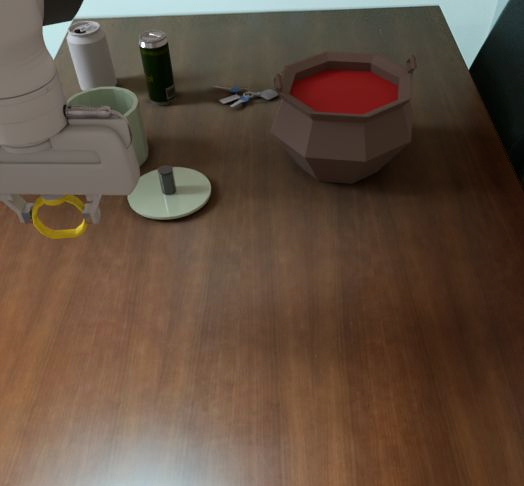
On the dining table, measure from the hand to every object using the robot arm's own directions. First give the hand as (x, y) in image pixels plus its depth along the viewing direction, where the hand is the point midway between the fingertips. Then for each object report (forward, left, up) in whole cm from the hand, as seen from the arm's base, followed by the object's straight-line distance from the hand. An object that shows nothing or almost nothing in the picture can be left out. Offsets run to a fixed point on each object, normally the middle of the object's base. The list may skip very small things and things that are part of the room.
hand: (61, 220), depth 67 cm
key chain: (+17, +57, -16) cm, 61 cm away
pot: (-5, +38, -16) cm, 41 cm away
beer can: (+1, +58, -16) cm, 60 cm away
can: (-13, +63, -16) cm, 66 cm away
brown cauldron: (+35, +36, -16) cm, 52 cm away
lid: (+7, +26, -15) cm, 31 cm away
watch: (0, 0, -2) cm, 2 cm away
